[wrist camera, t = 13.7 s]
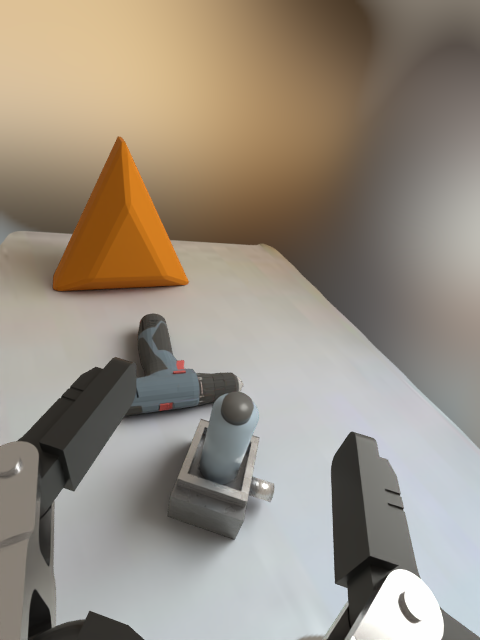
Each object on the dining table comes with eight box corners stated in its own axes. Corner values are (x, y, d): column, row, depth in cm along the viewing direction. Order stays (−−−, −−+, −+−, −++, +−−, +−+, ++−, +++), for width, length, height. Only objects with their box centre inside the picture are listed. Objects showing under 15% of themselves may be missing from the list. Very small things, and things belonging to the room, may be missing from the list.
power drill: (215, 331, 64) (244, 408, 49) (120, 335, 57) (121, 425, 42) (219, 310, 61) (251, 386, 46) (119, 312, 54) (120, 401, 39)
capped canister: (194, 477, 33) (208, 416, 27) (206, 441, 37) (221, 379, 30) (233, 490, 33) (257, 432, 27) (242, 452, 37) (265, 393, 30)
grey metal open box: (167, 516, 34) (170, 489, 30) (196, 440, 42) (202, 411, 39) (260, 548, 33) (275, 524, 30) (271, 465, 42) (285, 438, 38)
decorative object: (52, 303, 61) (18, 131, 43) (54, 267, 71) (27, 117, 54) (194, 294, 74) (211, 159, 56) (177, 265, 84) (187, 144, 67)
